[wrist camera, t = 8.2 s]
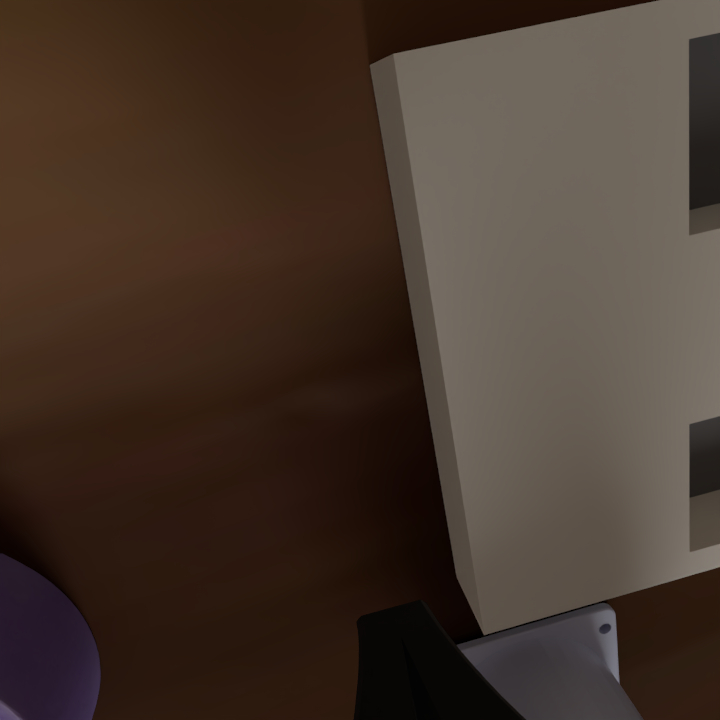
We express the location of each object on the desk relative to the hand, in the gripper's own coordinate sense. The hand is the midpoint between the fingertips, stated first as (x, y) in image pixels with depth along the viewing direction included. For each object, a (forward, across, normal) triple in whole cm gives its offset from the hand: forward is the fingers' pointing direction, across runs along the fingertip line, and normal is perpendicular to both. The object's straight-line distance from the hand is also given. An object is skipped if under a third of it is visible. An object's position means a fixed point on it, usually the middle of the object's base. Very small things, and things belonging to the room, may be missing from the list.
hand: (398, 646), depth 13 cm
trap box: (+9, -14, -2) cm, 17 cm away
